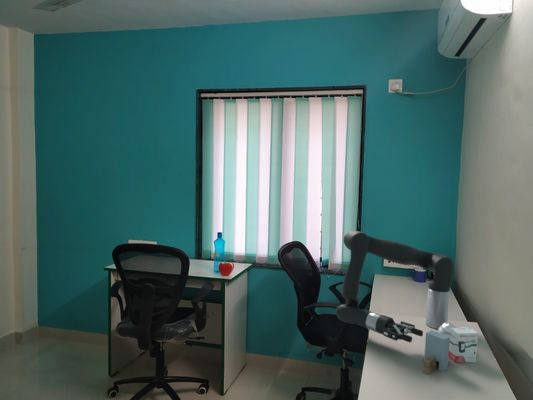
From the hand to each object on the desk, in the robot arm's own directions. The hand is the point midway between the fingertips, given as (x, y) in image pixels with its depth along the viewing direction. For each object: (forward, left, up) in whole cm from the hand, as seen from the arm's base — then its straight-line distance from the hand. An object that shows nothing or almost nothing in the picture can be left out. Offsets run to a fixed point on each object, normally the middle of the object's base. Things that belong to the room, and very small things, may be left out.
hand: (417, 336), depth 157 cm
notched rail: (0, +8, -8) cm, 12 cm away
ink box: (-13, +12, -9) cm, 20 cm away
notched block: (0, +8, -8) cm, 12 cm away
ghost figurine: (-21, +3, -9) cm, 23 cm away
